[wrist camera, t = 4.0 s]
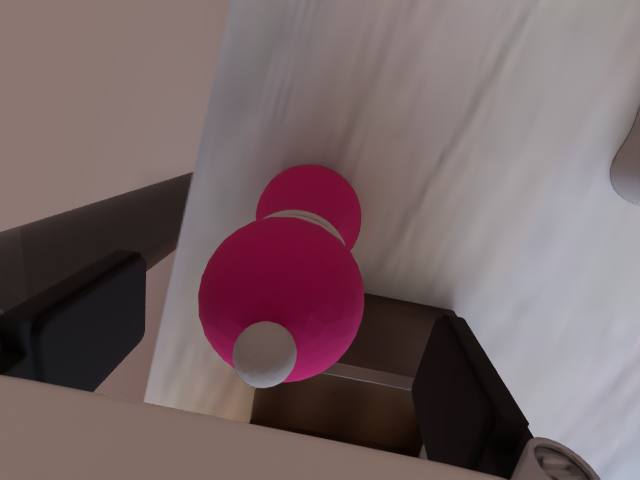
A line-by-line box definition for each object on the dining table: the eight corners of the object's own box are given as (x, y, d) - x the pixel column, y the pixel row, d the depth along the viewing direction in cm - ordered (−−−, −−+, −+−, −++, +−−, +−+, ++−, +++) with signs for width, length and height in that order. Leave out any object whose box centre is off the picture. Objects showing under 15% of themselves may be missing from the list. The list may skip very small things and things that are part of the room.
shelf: (241, 492, 39) (210, 610, 29) (277, 276, 30) (248, 345, 20) (377, 518, 39) (390, 643, 30) (453, 310, 30) (507, 395, 21)
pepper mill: (374, 187, 27) (460, 333, 8) (330, 260, 29) (314, 511, 10) (294, 141, 26) (178, 183, 7) (255, 220, 28) (85, 411, 9)
